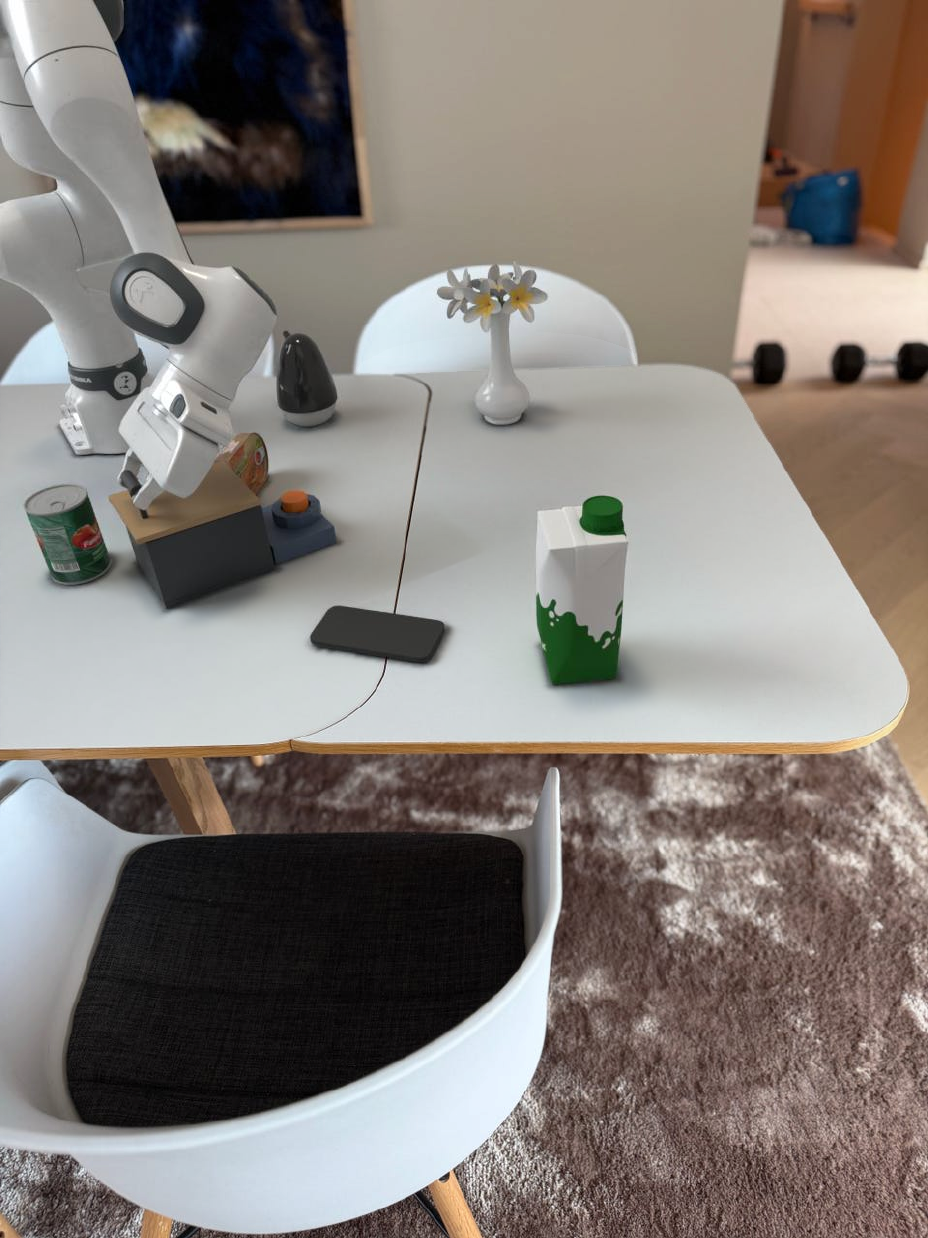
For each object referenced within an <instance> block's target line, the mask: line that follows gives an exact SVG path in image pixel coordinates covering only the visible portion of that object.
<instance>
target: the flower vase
mask: <svg viewBox="0 0 928 1238" xmlns="http://www.w3.org/2000/svg"><path fill="white" fill-rule="evenodd" d="M512 267H513V271H510V272H506V273H502V274H501V270H500V267H499V265H498V263H497V264H496V263H494V264H492V265H491V266H490V267H489V269H488V272H487V278H486V277H480V278H474V279H471V273H469V271H468V268H467V267H465V268H464V269H463V270H464V271H463V275H462V279H461V280H460V281H459V280H458V278H457V276H456V274H455V273H454V272H453V270H452V269H447V271H446V278H447V282H448V284H449V285H450V286H448V285H447V286H445V285H443V286H441V287H438V288H437V290H436V294H437V296H438V298H440V299H442V300H444V301H449V303H448V305H447V309H446V317H447V319H448V320H449V319H450V320H451V319H452V318H454V316H455V315H456V313H457V312H458V311H459V310H460V311H461V312H462V313H463V317H462V320H463V322H464V323H466V324H470V323H473V322H475V321H476V320H478V319H479V324H480V327H481V330H482V331H483V332H484V333H488V332H489V331H490V364H489V365H490V366H489V370H488V373H487V375H486V378H485V379H484V381H482V383H481V384H480V385H479V387H477V390H476V391H475V394H474V401H473V402H474V405H475V408H476V409H477V411H479V413H481V414H482V415H483V416H484V419H485V421H486V422H487V423H489V424H491V425H498V426H505V425H511V424H514V423H517V422H518V421H519V420H520V419H521V416H522V414H523V412H525V411H526V409H527V408H528V407H529V405H530V403H531V395H530V391H529V389H528V387H527V386H526V385H525V383H524V382H523V381H521V380H520V379H519V378H518V376H517V374H516V373H515V371H514V368H513V367H514V366H513V363H512V357H511V344H510V321H511V315H512V314H514V313H515V312H516V311H517V310H518V311H519V312H520V315H521V316H522V318H523V320H525V321H526V322H527V323H533V322H534V321H535V311H534V308H533V306H532V305H539V304H543V303H545V302H546V301H547V300H548V298H549V296H548V293H546V292H545V291H544V290H542V289H541V288H539V287H536V286H533V285H534V284H535V283H536V281H537V278H538V277H537V272H536V271H535V270H534V269H527V270H525V272H523V271H522V268H521V266H520V265H519V263H518V262H517V261H515V260H513V261H512ZM476 290H478V291H476ZM507 295H508V296H509V298H507V300H504V297H505V296H507ZM493 298H496V299H497V300H496V299H493ZM468 303H470V304H471V305H472V306H470V307H469V308H468Z"/></svg>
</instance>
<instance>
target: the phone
mask: <svg viewBox="0 0 928 1238" xmlns="http://www.w3.org/2000/svg"><path fill="white" fill-rule="evenodd" d="M445 630H446V629H445V623H444V622H443V621H441V620H439V619H433V618H426V617H419V616H413V615H408V614H407V615H406V614H400V613H394V612H387V611H381V610H374V609H365V608H361V607H360V608H359V607H352V606H347V605H333V606H331V607H329V608H328V609H327V610H326V611H325V613H324V614H323V616H322V617H321V619H320V620H319V622H318V623H317V624H316V626H315V627H314V629H313V631H312V632H311V634H310V636H309V639H310V643H311V644H312V645H314V646H316V647H322V648H328V649H334V650H340V651H347V652H353V653H359V654H365V655H371V656H376V657H382V658H390V659H395V660H401V661H402V660H403V661H407V662H408V661H409V662H413V663H425V662H428V661H429V660H431V658H432V656H433V655H434V653H435V651H436V649H437V647H438V645H439V643H440V641H441V639H442V637H443V635H444V633H445Z"/></svg>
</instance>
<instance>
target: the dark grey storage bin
mask: <svg viewBox="0 0 928 1238" xmlns="http://www.w3.org/2000/svg"><path fill="white" fill-rule="evenodd" d="M262 508H263V507H262V504H261V505H259V506H255V507H252V508H249V509H246V510H243V511H240V512H237V513H234V514H231V515H228V516H225V517H222V518H219V519H216V520H213V521H210V522H206V523H203V524H200V525H197V526H194V527H191V528H188V529H185V530H182V531H179V532H176V533H173V534H170V535H167V536H164V537H161V538H158V539H154V540H151V541H148V542H145V543H142V544H139V545H138V544H137V543H136V541H135V539H134V538H133V536H132V535H131V533H130V532H129V530H128V529H127V527H126V525H125V524H124V526H125V528H126V531H127V535H128V538H129V541H130V544H131V547H132V550H133V554H134V556H135V560H136V562H137V564H138V566H139V567H140V569H141V570H142V572H143V574H144V575H145V577H146V578H147V580H148V582H149V583H150V585H151V587H152V588H153V590H154V592H155V593H156V595H157V597H158V598H159V600H160V601H161V603H162V604H163V606H164V608H165V609H166V610H169V609H171V608H174V607H178V606H179V605H182V604H185V603H188V602H190V601H194V600H196V599H199V598H202V597H204V596H207V595H210V594H212V593H216V592H219V591H221V590H224V589H226V588H230V587H232V586H235V585H237V584H240V583H243V582H246V581H249V580H251V579H254V578H256V577H259V576H262V575H265V574H267V573H270V572H273V571H276V568H275V567H276V566H275V562H274V561H273V558H272V553H271V549H270V544H269V540H268V535H267V531H266V526H265V522H264V517H263V513H262Z"/></svg>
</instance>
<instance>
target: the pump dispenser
mask: <svg viewBox="0 0 928 1238" xmlns="http://www.w3.org/2000/svg"><path fill="white" fill-rule="evenodd" d="M282 336H283V337H284V340H283V342H282V344H281V347H280V351H279V352H278V353H279V354H278V359H277V365H276V366H277V367H276V378H275V379H276V380H275V387H276V388H275V389H276V391H275V392H276V401H277V406H278V408H279V409H280V410H281V412H282V414H283V416H285V418H286V419H287V420H288V421H289V422H291V423H292V424H293V425H296V426H298V427H299V426H300V427H315V426H319V425H321V424H323V423H325V422H327V421H328V420H329V419H330V418H331V417H332V416H333V415H334V412H335V410H336V406H337V401H338V397H339V396H338V390H337V386H336V383H335V380H334V377H333V375H332V371H331V369H330V367H329V364H328V363H327V360H326V358H325V356H324V354H323V352H322V350H321V349H320V347H319V346H318V344H317V343H316V342H315V341H314V339H313V338H312V337H311V336H309V335H308V334H305V333H302V332H295V333H292V334H291V333H290V332H289V330H283V332H282Z"/></svg>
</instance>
